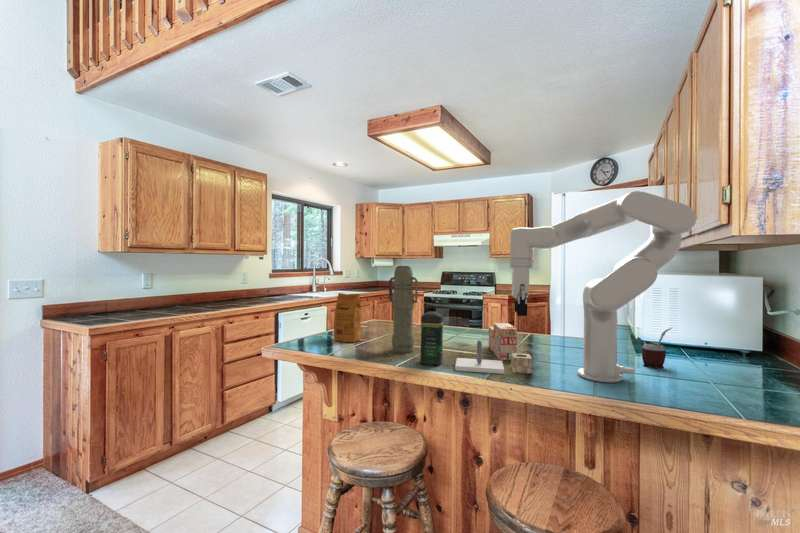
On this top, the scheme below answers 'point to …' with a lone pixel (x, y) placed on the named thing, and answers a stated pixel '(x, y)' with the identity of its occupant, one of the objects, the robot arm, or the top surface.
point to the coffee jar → (431, 338)
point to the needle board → (479, 363)
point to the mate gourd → (654, 354)
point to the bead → (521, 363)
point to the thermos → (403, 309)
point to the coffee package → (347, 318)
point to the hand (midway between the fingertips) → (520, 313)
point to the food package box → (503, 340)
